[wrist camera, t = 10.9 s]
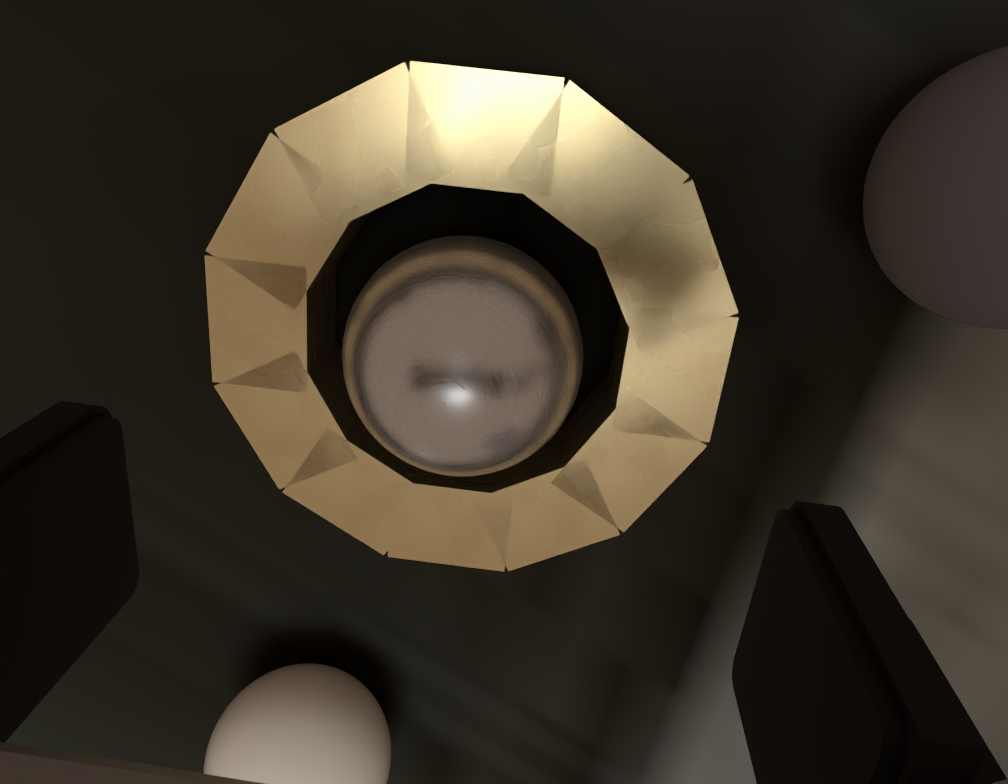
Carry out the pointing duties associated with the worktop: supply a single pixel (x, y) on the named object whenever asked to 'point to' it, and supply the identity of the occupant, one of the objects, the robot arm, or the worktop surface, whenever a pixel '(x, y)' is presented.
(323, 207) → the gold faceted ring
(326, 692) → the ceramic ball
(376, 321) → the steel ball
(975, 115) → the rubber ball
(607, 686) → the worktop surface
